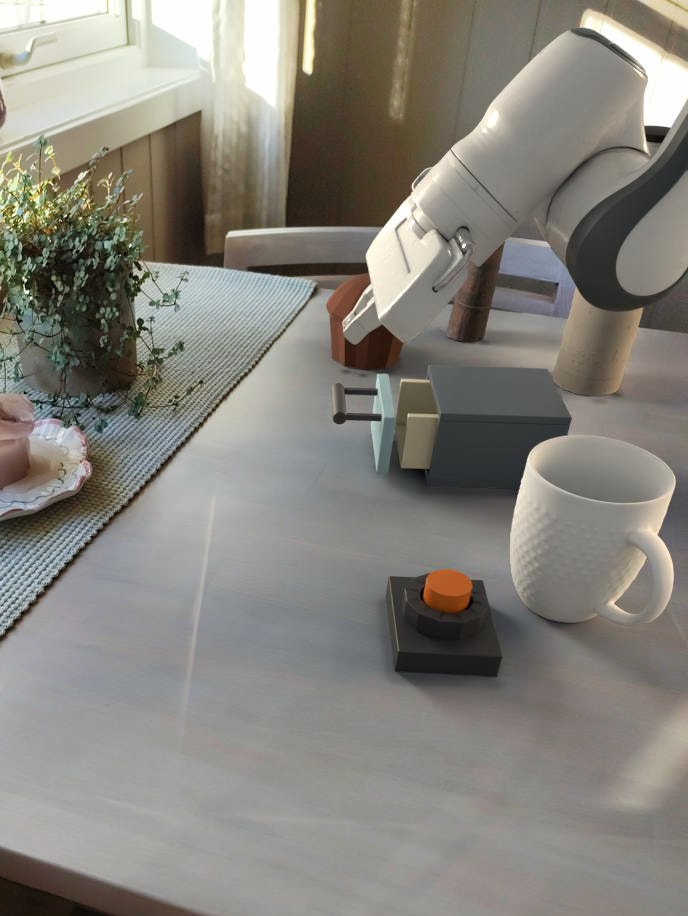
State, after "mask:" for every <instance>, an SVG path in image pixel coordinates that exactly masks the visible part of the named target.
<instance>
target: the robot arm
mask: <svg viewBox="0 0 688 916" xmlns="http://www.w3.org/2000/svg"><path fill="white" fill-rule="evenodd" d="M648 83H649V76H648V75H647V71H646V70H645V67H643V65H642V64H641V63H640V62H639V60H637V59H636V58H635V57H634V56H632V55H631V54H630V53H629V52H627V51H626V50H625V49H624V48H622V47H621V46H619V45H618V44H617V43H615V42H613V41H611V40H610V39H609V38H607V37H606V36H605V35H603V34H601V33H599V32H598V31H596V30H594V29H593V28H592V29H591V28H589V27H577V28H571V29H568V30H566V31H564V32H563V33H561V34H559V36H557V37H556V38H555V39H553V40H552V41H551V42H549V44H547V45H546V46H545V47H544V48H543V49H542V50H541V51H540V52H538V53H537V54H536V55H535V56H534V57H533V58H531V60H530V61H529V62H528V63H527V64H525V66H524V67H523V68H522V69H521V70H520V71H519V72H518V73H517V74H516V76H514V77H513V78H512V80H511V81H510V82H509V83H508V84H507V85H506V86H504V88H503V89H502V90H501V91H500V92H499V93H498V95H497V96H496V97H495V98H494V99H493V100H492V101H491V102H490V104H489V105H488V107H487V109H486V110H485V111H486V112H485V113H484V115H483V117H482V119H481V120H480V121H479V122H478V124H477V125H476V127H475V128H474V129H473V130H471V132H470V133H468V135H466V136H465V137H463V138H462V139H460V140H458V141H457V142H456V143H455V144H453V146H452V147H450V149H448V151H447V152H446V153H445V154H444V156H443V157H442V158H441V159H440V160H439V161H438V162H437V163H436V164H435V165H434V166H430V167H427V168H425V169H424V170H422V171H421V172H420V174H419V175H418V176H417V177H416V178H415V179H414V181H413V182H412V184H411V190H412V191H411V193H410V195H409V196H407V198H406V199H405V200H404V201H403V202H402V203H401V204H400V206H399V207H398V208H397V209H396V210H395V212H394V213H393V214H392V216H391V217H390V219H389V220H387V222H386V223H385V225H384V226H383V227H382V229H381V230H380V231H379V233H378V234H377V235H376V237H375V238H374V240H373V241H372V242H371V244H370V246H369V247H368V250H367V251H366V254H365V259H366V265H367V269H368V273H369V275H370V280H371V284H370V285H369V286H368V288H367V289H366V290H365V291H364V292H363V294H362V296H361V297H360V299H359V301H358V302H357V304H356V306H355V307H354V309H353V310H352V311H351V313H350V314H349V315H348V316H347V317H346V318H345V319H344V320H343V322H342V324H343V333H344V337H345V338H346V339H347V340H349V341H350V342H351V343H352V344H358V343H359V342H360V341H361V340H362V339H363V338H364V337H365V336H366V335H367V334H368V333H369V332H371V331H372V330H374V329H376V328H377V327H379V326H381V325H382V324H383V325H384V326H385V327H386V328H387V329H388V330H389V331H390V332H391V333H392V334H393V335H394V336H396V337H397V338H398V339H399V340H400V341H401V342H403V343H404V344H407V343H410V342H411V341H413V340H415V339H416V338H418V337H419V336H420V335H421V333H423V332H424V331H425V330H426V329H427V328H428V326H429V325H430V324H431V323H432V322H433V321H434V320H435V319H436V318H437V316H438V315H439V314H440V313H441V312H442V311H443V310H444V309H445V307H447V306H448V304H449V303H450V302H451V301H452V300H453V298H454V297H456V295H457V292H458V291H459V290H460V288H461V287H462V286H463V284H464V283H465V281H466V279H467V276H468V268H467V265H468V263H469V261H470V262H471V263H473V264H474V265H476V266H478V267H479V266H481V265H482V264H483V263H484V262H485V261H486V260H487V259H488V258H489V257H490V256H491V255H492V254H493V253H494V252H495V251H496V250H497V249H498V248H499V247H500V246H501V245H502V244H503V243H504V242H505V243H506V241H507V240H508V239H509V238H510V237H511V236H512V235H513V234H514V233H515V231H517V230H518V228H520V227H521V225H523V224H524V223H525V222H526V221H527V220H528V219H530V218H533V219H534V222H535V225H536V227H537V229H538V232H539V233H540V235H541V236H542V238H543V239H544V240H545V242H547V244H548V246H549V247H550V249H551V251H552V253H554V255H555V256H556V258H558V260H559V261H560V262H561V263H562V265H563V266H564V267H565V268H566V270H567V272H568V274H569V276H570V278H571V280H572V282H573V283H574V285H575V288H576V287H577V289H578V291H579V292H580V294H581V295H582V297H583V298H584V299H585V300H586V301H587V302H588V303H590V304H591V305H593V306H595V307H597V308H599V309H602V310H606V311H612V312H624V311H631V310H636V309H640V308H643V307H644V308H646V307H649V306H651V305H653V304H655V303H657V302H659V301H661V300H663V299H664V298H666V297H667V296H669V295H670V294H672V293H673V292H674V291H676V290H677V289H678V288H679V287H681V286H682V285H683V283H685V282H686V281H687V279H688V98H687V99H686V101H685V102H684V105H683V106H682V108H681V109H680V111H679V112H678V115H677V116H676V118H675V120H674V122H673V123H672V125H671V126H670V130H669V132H668V133H667V135H666V137H665V139H664V140H663V142H662V144H661V145H660V147H659V149H658V150H657V152H656V153H655V155H654V156H653V157H652V158H651V159H649V158H648V157H647V156H649V157H650V152H649V149H648V146H647V141H646V136H645V128H644V126H645V117H644V115H645V114H644V107H645V105H644V103H645V102H644V101H645V93H646V88H647V86H648ZM468 260H469V261H468ZM644 308H643V309H644Z"/></svg>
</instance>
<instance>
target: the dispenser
mask: <svg viewBox="0 0 688 916" xmlns="http://www.w3.org/2000/svg"><path fill="white" fill-rule="evenodd" d="M425 375H426V376H425V380H429V381H430V384H431V388H432V392H433V396H434V400H435V404H436V408H437V412H438V416H439V418H438V423H437V429H436V435H435V440H434V446H433V452H432V457H431V463H430V469H424V473H425V478H426V483H427V486H429V487H430V486H431V487H452V488H453V487H455V488H456V487H457V488H478V489H479V488H482V489H508V490H509V489H510V490H520V485H521V480H522V478H523V475H524V471H525V467H526V463H527V459H528V456H529V454H530V452H531V450H532V449H533V448H534V447H535V446H537V445H538V444H540V443H542V442H544V441H546V440H549V439H552V438H556V437H561V436H568V434H569V431H570V427H571V423H572V419H573V417H572V414H571V413H570V410H569V409H568V407H567V405H566V403H565V400H564V399H563V397H562V394H561V393H560V391H559V389H558V386H557V384H556V383H555V382H554V381H553V376H551V373H550V371H549V369H548V368H541V367H514V366H513V367H511V366H510V367H509V366H477V365H476V366H475V365H443V364H438V365H437V364H428V365H427V370H426V374H425Z"/></svg>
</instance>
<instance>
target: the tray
mask: <svg viewBox="0 0 688 916" xmlns="http://www.w3.org/2000/svg"><path fill="white" fill-rule="evenodd" d="M330 392H331V409H332V421H333V423H334V424H336V425H343V424H345V423H346V421H358V422H370V432H371V439H372V447H373V455H374V456H373V457H374V463H375V470H376V473H377V474H389V469H390V463H391V455H392V449H393V442H394V435H395V441H396V447H397V454H398V459H399V466H400V468H401V469H416V470H417V469H419V470H425V469H430V463H431V457H432V452H433V446H434V440H435V435H436V429H437V423H438V418H439V416H438V412H437V408H436V404H435V400H434V396H433V392H432V388H431V384H430V381H429V380H426V379H419V378H418V379H417V378H415V379H414V378H401V379H400V382H399V391H398V396H397V404H396V409H395V403H394V399H393V392H392V387H391V382H390V376H389V374H388V373H377V374H376V380H375V387H373V388H371V387H345V386H344V384H343V383H340V382H335V383H333V385H332V386H331V389H330ZM346 395H347V396H372V397H373V396H374V399H373V405H372V413H368V412H367V413H365V412H347V404H346V402H347V401H346ZM395 410H396V411H395Z"/></svg>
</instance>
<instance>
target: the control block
mask: <svg viewBox="0 0 688 916" xmlns="http://www.w3.org/2000/svg"><path fill="white" fill-rule="evenodd" d="M430 573H431V572H428V573H425V574H422V575H419V576H399V575H389V576H388V579H387V585H386V592H385V601H386V610H387V618H388V625H389V633H390V634H389V635H390V645H391V652H392V661H393V668H394V669H393V671H394V672H396V673H414V674H415V673H417V674H434V675H435V674H436V675H454V676H475V677H477V676H478V677H495V678H496V677H498V674H499V671H500V668H501V664H502V661H503V653H502V650H501V646H500V641H499V638H498V633H497V631H496V626H495V622H494V618H493V614H492V611H491V607H490V603H489V599H488V595H487V591H486V586H485V583H484V580H483V579H470V580H471V582H472V585H473V587H472V591H471V596H470V600H469V604H468V606H467V608H466V609H465V610H463V611H461V612H458V613H447V612H440V611H438V610H435V609H432V608H430V607H429V606H427V604H426V603H425V602H424V599H423V594H424V589H425V584H426V579H427V576H428V575H429V574H430Z"/></svg>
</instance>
